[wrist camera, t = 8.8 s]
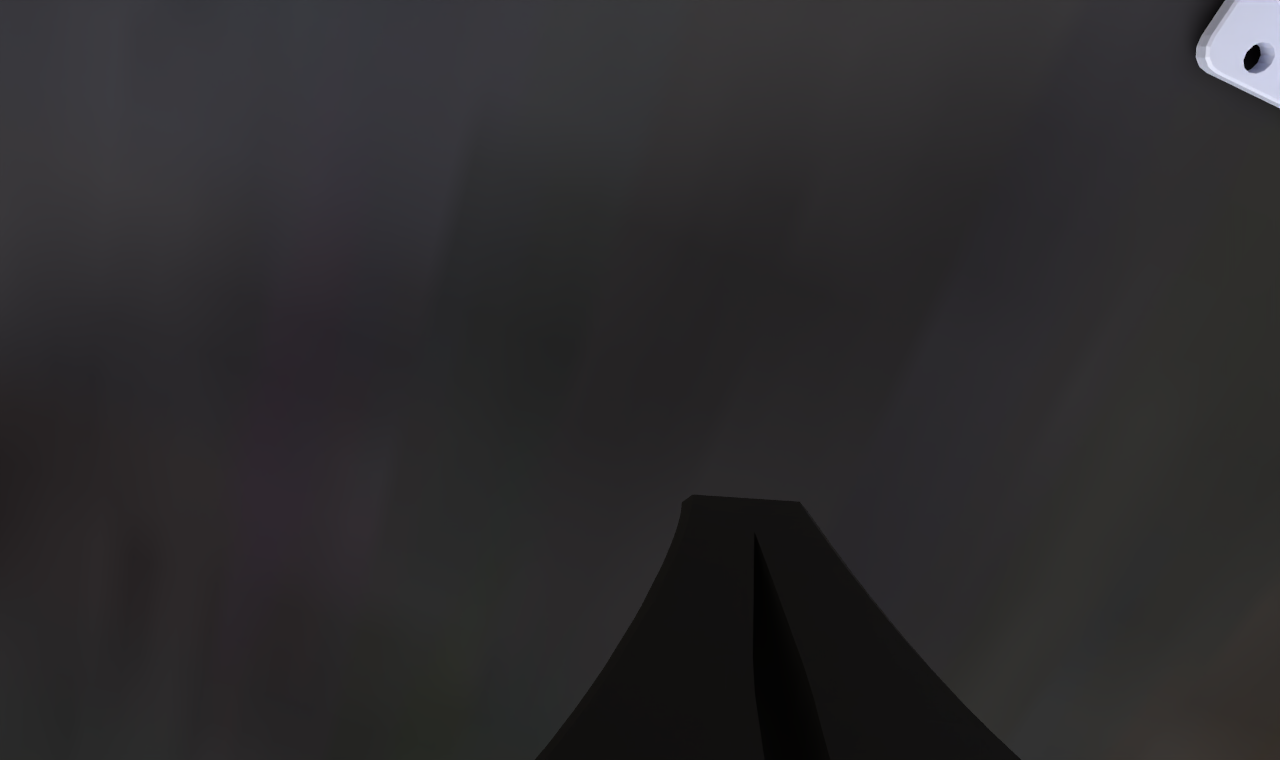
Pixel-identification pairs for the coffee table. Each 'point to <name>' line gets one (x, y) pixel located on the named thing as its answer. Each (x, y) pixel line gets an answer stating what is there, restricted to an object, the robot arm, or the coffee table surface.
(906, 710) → the robot arm
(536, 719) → the coffee table surface
